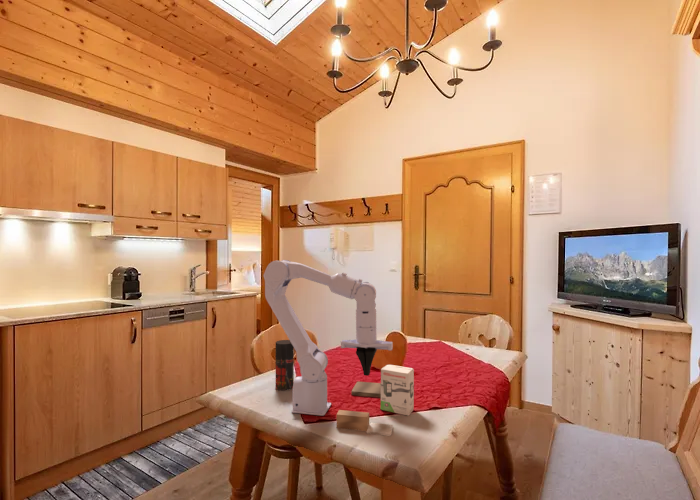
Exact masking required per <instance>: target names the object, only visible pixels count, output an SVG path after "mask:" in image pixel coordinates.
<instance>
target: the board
mask: <svg viewBox="0 0 700 500" xmlns="http://www.w3.org/2000/svg"><path fill="white" fill-rule="evenodd" d="M354 384H355V385H354V386H353V388H352V390H351V391H350V393H351V396H356V397H357V396H358V397H359V396H360V397H372V398H380V399H381V382H370V381H356V383H354Z"/></svg>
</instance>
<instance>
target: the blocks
mask: <svg viewBox="0 0 700 500" xmlns="http://www.w3.org/2000/svg"><path fill="white" fill-rule="evenodd" d="M336 429H342V430H343V429H345V430H351V431H352V430H353V431H362V432H366V434H369V435H378V436H388V437H392V433H393V429H394V424H389V423H388V424H386V423H377V422H370V412H365V411H357V410H356V411H353V410H346V409H345V410H343V409H338V411H337V413H336Z"/></svg>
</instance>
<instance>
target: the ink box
mask: <svg viewBox="0 0 700 500" xmlns="http://www.w3.org/2000/svg"><path fill="white" fill-rule="evenodd" d="M414 373H415V370H414V368H412V367H406V366H400V365H394V364H385V366H383V367H382V368H381V369H380V383H381V398H380V410H381V411H386V412H390V413H394V414H399V415H403V416H406V417H407V416H410V415H411V413H413V411H414V407H415V406H414V405H415V403H414V399H415V398H414V396H415V395H414V394H415V391H414V390H415V383H414V382H415V375H414Z"/></svg>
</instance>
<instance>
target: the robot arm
mask: <svg viewBox="0 0 700 500" xmlns="http://www.w3.org/2000/svg"><path fill="white" fill-rule="evenodd" d="M347 274H348V273H345V272H341V273H340V272H337V273H335V274H332V275H331V274H329V273H327V272H325V271H321V270H319V269H316V268H314V267H311V266H309V265H307V264H303V263H300V262H296V261H291V260H288V259H282V260H273V261H270V263H268V265H267V266H266V268H265V270H264V273H263V278H264V296H265V297H264V298H265V300H266V302H267V304H268V305H269V307H270V308H271V310H272V312H273V314H274V315H275V318H276V319H277V321H278V322H279V324H280V326H281V328H282V329H283V331H284V334H285V335H286V336H287V339H288V340H290V342H291V343H292V345H293V347H294V351H295V352H296V362H297V363H298V365H299V371H300V372H299V373H300V375H301V376H295V378H294V383H293V389H292V410H291V413H294V414H302V415H303V414H304V415H312V416H322V417H323V416H325V415H326V413H327V412H328V410H329V409H330V407H331V405H332V402H328V375H327V373H326V371H325V369H326V368H327V366H328V363H329V362H328V361H329V357H328V356H327V354H326V352H323V351H322V350H321V349H320V348H319V347H318V345H317V344H316V343H314V341H312V340H311V338H310V336H309V334H308V332H307V331H306V330H305V327H304V325H303V324H302V322H301V321H300V319H299V317H298V315H297V314H296V312H295V310H294V308H293V306H292V305H291V303H290V302H289V300H288V298H287V296H286V292H287V289H288V286H289V284H290V282H291V281H292V280H294V279H305V280H308V281H311V282H314V283H317V284H321V285H324V286H327V287H328V288H329V290H330V292H331V293H332V294H336V295H338V296H341V297H345V298H348V299H349V300H355V302H356V309H355V333H356V335H355V336H356V337H355V338H356V339H342V340H341V341H340V349H345V348H346V349H347V348H348V349H356V351H355V354H356V356H357V358H358V360H359V362H360V364H361V368H362V372H363V376H367V377H368V376H370V374H371V370H372V369H371V368H372V364H373V361H374V358H375V355H376V353H377V350H386V351H387V350H388V351H393V348H394V347H393V343H394V342H393V341H386V340H378V339H377V337H378V336H377V309H376V305H377V304H376V298H377V290H376V287H375V286H374V285H373V284H371V283H370V282H368V281H364V282H363V279H361V278H359V279H356V278H354V277H350V276H348V275H347Z"/></svg>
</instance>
